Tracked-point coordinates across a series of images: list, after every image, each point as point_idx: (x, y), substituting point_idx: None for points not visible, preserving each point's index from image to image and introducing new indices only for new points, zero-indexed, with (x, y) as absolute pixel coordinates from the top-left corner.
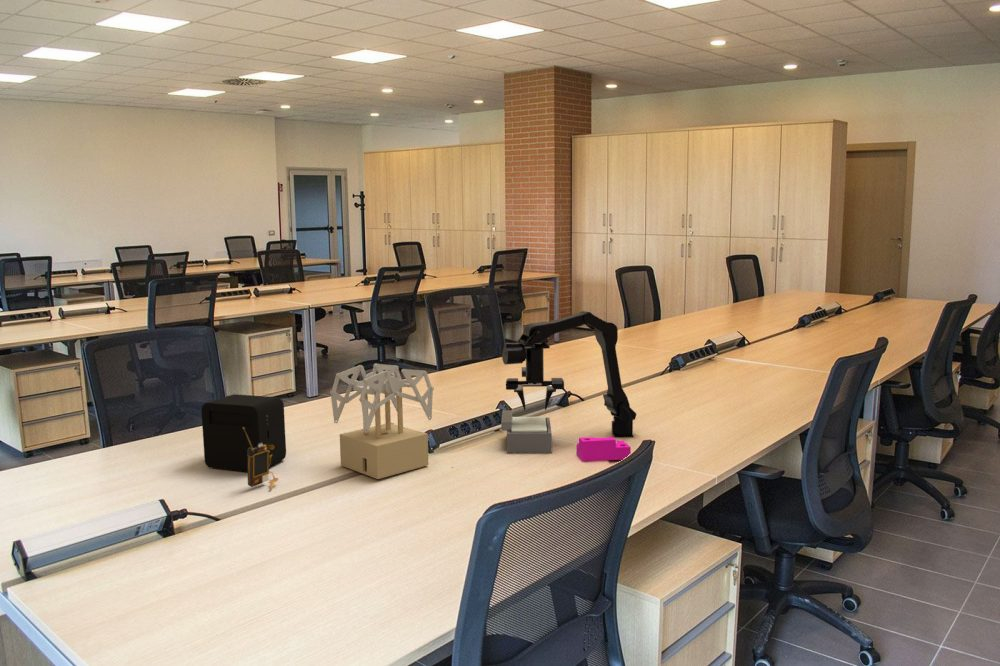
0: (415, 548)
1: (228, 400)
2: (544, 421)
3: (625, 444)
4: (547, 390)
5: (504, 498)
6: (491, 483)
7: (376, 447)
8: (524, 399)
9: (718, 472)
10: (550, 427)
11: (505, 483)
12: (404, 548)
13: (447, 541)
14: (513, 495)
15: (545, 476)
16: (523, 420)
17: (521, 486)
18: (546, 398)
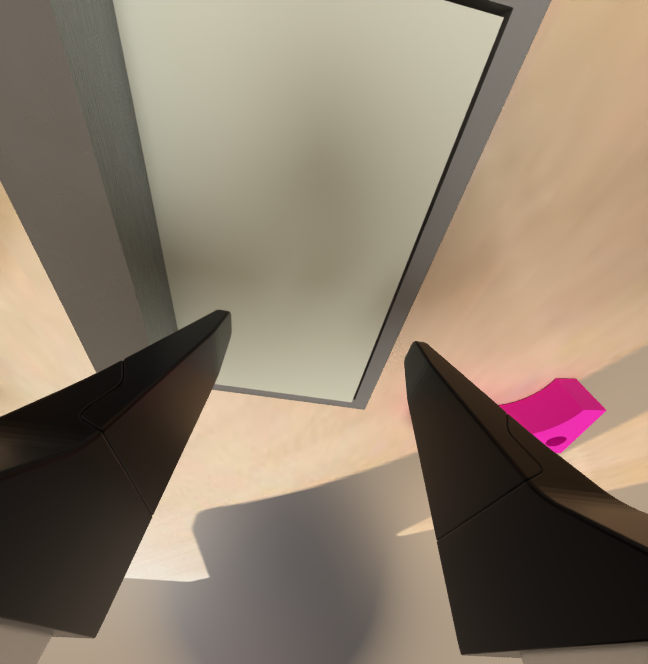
0: (156, 545)
1: None
2: (404, 241)
3: (569, 437)
4: (470, 654)
5: (227, 504)
6: (198, 471)
7: None
8: (177, 398)
9: (615, 488)
10: (396, 335)
11: (224, 474)
12: (146, 545)
13: (181, 543)
14: (240, 500)
15: (300, 464)
16: (246, 169)
17: (252, 484)
18: (433, 500)
